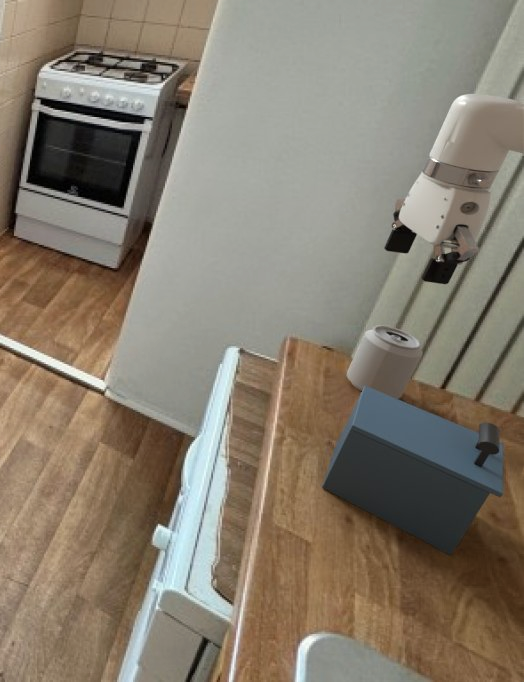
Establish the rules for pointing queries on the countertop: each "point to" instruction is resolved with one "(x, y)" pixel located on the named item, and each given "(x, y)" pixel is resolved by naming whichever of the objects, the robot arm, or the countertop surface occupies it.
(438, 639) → the countertop surface
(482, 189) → the robot arm
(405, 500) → the compartment
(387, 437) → the lid
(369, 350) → the can
